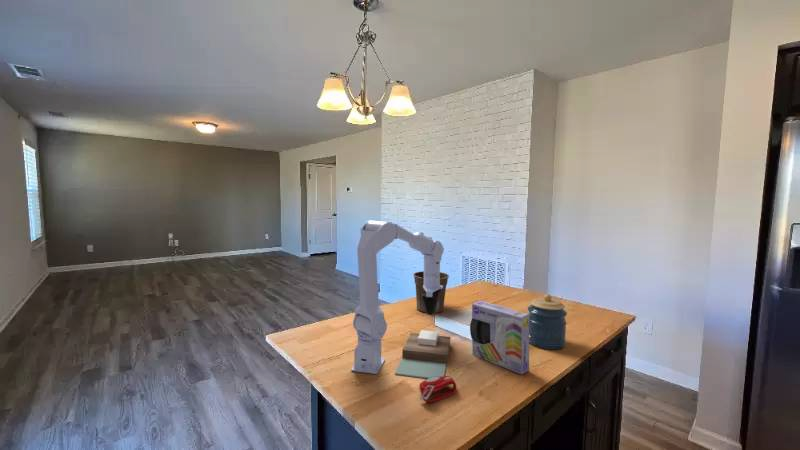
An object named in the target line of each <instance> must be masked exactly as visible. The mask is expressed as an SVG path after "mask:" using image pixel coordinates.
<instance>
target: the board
mask: <svg viewBox="0 0 800 450" xmlns="http://www.w3.org/2000/svg"><path fill="white" fill-rule="evenodd" d="M419 335H420V333H415V332H410V334H409V336H408V337H407V340H406V341H405V344H404V346H403V347H402V352H401V353H402V354H401V355H402V356H401V357H402V358H403V359H412V360H420V361H428V362H437V363H445V364H446V365H447V363H448V358H449V352H450V348H451V336H447V335H446V336H445V335H438V341H437V344H436V346H432V345H423V344H418V337H419ZM402 358H401V359H402Z"/></svg>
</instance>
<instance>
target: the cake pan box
mask: <svg viewBox="0 0 800 450" xmlns="http://www.w3.org/2000/svg"><path fill="white" fill-rule="evenodd" d="M469 332H470V333H469V334H470V337H471V338H470V339H471V341H472V343H471V345H472V346H471V349H472V350H471V351H472V353H471V354H472V355H473V356H476V357H478V358H480V359H483V360H484V361H488V362H490V363H492V364H494V365H497V366H499V367H502V368H504V369H506V370H509V371H510V372H511V371H512V372H514V373H516V374H519V375H524V374H525V373H527V372H529V371H530V343H529V313H525V312H521V311H519V310H515V309H511V308H509V307H506V306H502V305H499V304H494V303H489V302H486V301H483V300H479V301H476V302H473V303H472V304H471V320H470V324H469Z"/></svg>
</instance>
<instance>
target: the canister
mask: <svg viewBox="0 0 800 450" xmlns="http://www.w3.org/2000/svg"><path fill="white" fill-rule="evenodd" d="M565 308H566V306H565V304H564V303H562V302H561V300H558V299H555V298H553V297H552V295H550V294H549V293H548V294H547V293H545V294H544V296H543V297H542V296H541V297H536V298H534V299H532V300H530V305H528V306H527V310H528V314H529V335H530V336H531V337H530V339H529V341H530V343H529V345H532V346H534V347H537V348H540V349H543V350H544V349H545V350H551V351H554V350H556V351H557V350H562V349H564V347H565V344H566V340H567V339H566V329H567V321H566V316H568V312H567V310H565Z"/></svg>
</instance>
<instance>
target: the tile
mask: <svg viewBox="0 0 800 450" xmlns="http://www.w3.org/2000/svg"><path fill="white" fill-rule="evenodd" d="M419 334H420V335H419V337H418V344H423V345H432V346H436V344H437V341H438V336H439V331H434V330H433V331H432V330H423V329H421V330H420V332H419Z"/></svg>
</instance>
